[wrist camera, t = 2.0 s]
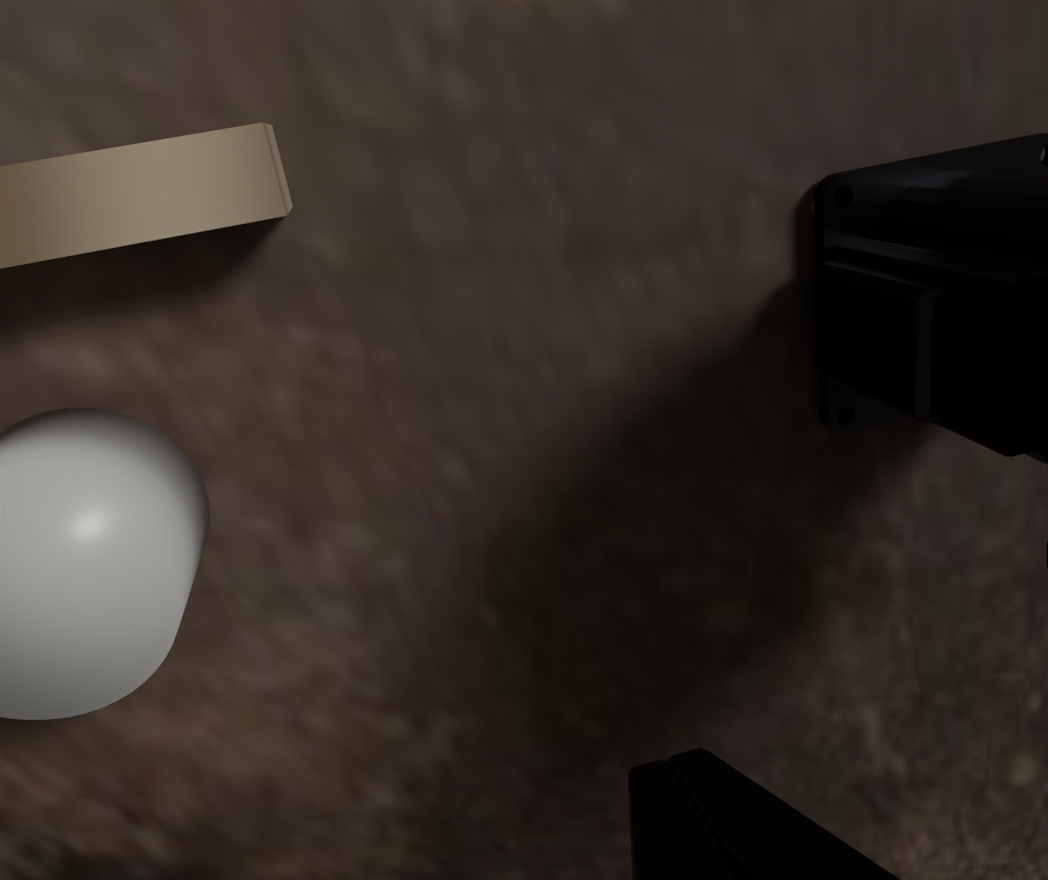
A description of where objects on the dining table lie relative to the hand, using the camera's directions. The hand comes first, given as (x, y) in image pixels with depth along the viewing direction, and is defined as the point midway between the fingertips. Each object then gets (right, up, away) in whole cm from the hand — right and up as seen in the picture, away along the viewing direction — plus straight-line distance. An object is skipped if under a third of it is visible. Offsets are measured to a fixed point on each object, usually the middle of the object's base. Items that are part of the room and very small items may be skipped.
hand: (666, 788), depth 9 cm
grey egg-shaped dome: (-11, +2, +10) cm, 15 cm away
